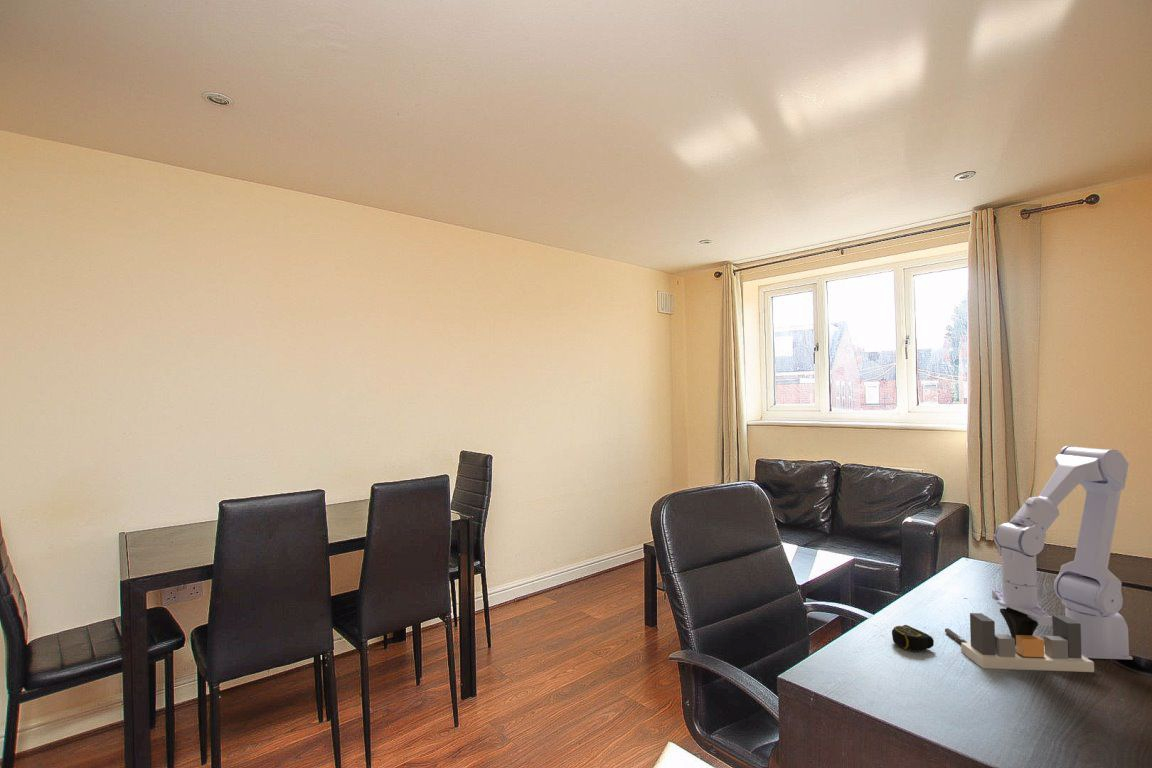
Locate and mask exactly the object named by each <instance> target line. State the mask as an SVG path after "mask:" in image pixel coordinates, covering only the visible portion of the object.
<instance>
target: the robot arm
mask: <svg viewBox="0 0 1152 768" xmlns="http://www.w3.org/2000/svg"><path fill="white" fill-rule="evenodd" d="M1054 462H1055V463H1054V464H1055V467H1056V468H1055V470H1054V471H1053V473H1052V474H1051V476H1050V477H1049V479H1048V480H1047V482H1046V484H1045V486H1044V487H1043V488H1042V490H1041V491H1040V493H1039V495H1037V496H1032V497H1031V496H1030V497H1027V499H1026V500H1025V502H1024V503H1023V504H1022V505H1021V507H1020V508H1019V509H1018V510H1017V512H1016V513H1015V514H1014V516H1013V517H1012V518H1011V519H1010V520H1009V522H1008V521H1006V522H1004V523H1002V524H1000V525H998V526H997V527H996V529H995V532H994V534H993V535H992V536H993V537H992V539H993V542H994V543H995V545H996V546H997V549H998V554H999V556H1001V580H1002V581H1001V583H1002V584H1001V585H1002V587H1001V588H1002V590H1001V589H992V590H991V598H992V599H993V600H995V601H997V602H996V603H997V604H998V605H999V606H1000V607H1004V608H1000V609H999V612H1000V614H1001V615H1002V617H1003V619H1004V621H1005V622H1006V625H1007V628H1008V630H1009V633H1010V636H1011V637H1013V638H1014V639H1015V646H1016V635H1034V633H1035V631H1036V629H1037V627H1038V626H1041V627H1053V618H1052V616H1051V615H1049V614H1048V613H1047V612H1046V611H1045V610H1044V609H1043V608H1042V607H1041V606H1040V605H1039V603H1038V601H1039V599H1038V572H1037V571H1038V570H1037V555H1039V554H1040V553H1041V552H1042V551H1043V550H1044V546H1045V539H1046V538H1047V533H1046V532H1047V531H1048V530H1049V529H1050V527H1051V526H1052V524H1054V522H1055V521H1056V519H1058V517H1059V516H1060V510H1059V508H1058V506H1059V505H1060V504H1061V503H1062V502H1063V501H1064V500H1065V499H1066V497H1067V496H1068V495H1070V493H1071V492H1073V491H1074V489H1076V488H1077V486H1078V485H1080V486H1082V487H1083V489H1084V490H1085V491H1086V492H1085V493H1086V494H1085V498H1084V505H1083V510H1082V514H1081V515H1082V516H1081V519H1080V520H1081V521H1080V527H1079V532H1078V538H1077V543H1076V549H1075V554H1074V559H1073V560H1072V561H1069V562H1066V563H1064V564H1062V565H1060V569H1059V573H1058V575H1057V576H1056V578H1055V579H1054V583H1053V589H1054V593H1055V594H1056V596H1057V597H1058V598H1059V599H1060V600H1061V605H1064V606H1065V607H1064V608H1065V609H1064V610H1065V616H1067V617H1068V618H1070V619H1072V620H1074V621H1076V622H1078V623H1080V624H1081V652H1082V656H1084V657H1086V658H1088V659H1103V660H1104V659H1105V660H1128V661H1129V660H1131V661H1132V660H1133V656H1131V655H1130V648H1129V647H1130V646H1129V643H1130V642H1129V627H1128V624H1127V622H1126V620H1125V618H1124V616H1123V615H1121V614H1120V612H1119V611H1121V609H1122V607H1123V602H1124V600H1123V595H1122V584H1123V583H1122V581H1121V580H1120V579H1119V578H1118V577H1117V576H1116V575H1115V574H1114V573H1112V572H1111V571H1110V569H1109V563H1110V556H1111V553H1112V552H1111V550H1112V547H1113V545H1112V543H1113V539H1114V535H1115V527H1116V523H1117V516H1118V510H1119V507H1120V506H1119V505H1120V499H1121V494H1122V491H1124V490H1125V487H1126V483H1127V476H1128V472H1129V471H1128V469H1129V465H1130V463H1129V462H1128V461H1127V459H1126V458H1125V456H1124V455H1123V453H1122V452H1121V451H1120V450H1118V449H1114V448H1110V449H1105V448H1094V447H1084V446H1083V447H1082V446H1081V447H1080V446H1074V445H1065V446H1063V447H1062V448H1061V449H1060V450H1059V452H1058V454H1057V455H1056V456H1055V457H1054ZM1083 576H1085V577H1083ZM1087 577H1089V578H1087ZM1090 578H1092V579H1090Z"/></svg>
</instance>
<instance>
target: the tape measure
mask: <svg viewBox="0 0 1152 768" xmlns="http://www.w3.org/2000/svg"><path fill="white" fill-rule="evenodd" d="M891 635H892V637H891V638H892V641H893V643H894V644H895V645H896V646H898V647H900V648H902V649H905V650H906V651H907V650H908V651H910V652H911V651H913V652H924V651H926V650H928V649H932V648H933V647H934V638H933V637H932V636H931V635H929V634H928V633H925V632H924V631H922V630H919V629H916V628H915V627H912V626H910V625H908V624H903V625H896V626H894V627H893V629H891Z"/></svg>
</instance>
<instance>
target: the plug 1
mask: <svg viewBox="0 0 1152 768" xmlns="http://www.w3.org/2000/svg"><path fill="white" fill-rule="evenodd" d="M995 622H996V621H995V620H993V619H991V618H990V617H989V616H987V615H985V614H984V613H980V612H979V613H978V612H976V613H975V612H970V613H969V624H970V625H969V626H970V631H969V632H970V643H971V646H972V647H973V648H974V649H976V650H977V651H978V652H980V653H981V654H983V655H995V634H996V623H995Z"/></svg>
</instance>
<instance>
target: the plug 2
mask: <svg viewBox="0 0 1152 768" xmlns="http://www.w3.org/2000/svg"><path fill="white" fill-rule="evenodd" d="M1051 617H1052V636H1060V637H1062V638H1064V639H1066V640H1068V658H1082V652H1081V624H1080V623H1078V622H1076V621H1074V620H1072V619H1070V618H1068V617H1067V616H1066V615H1059V614H1057V615H1055V614H1053V615H1052V616H1051Z"/></svg>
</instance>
